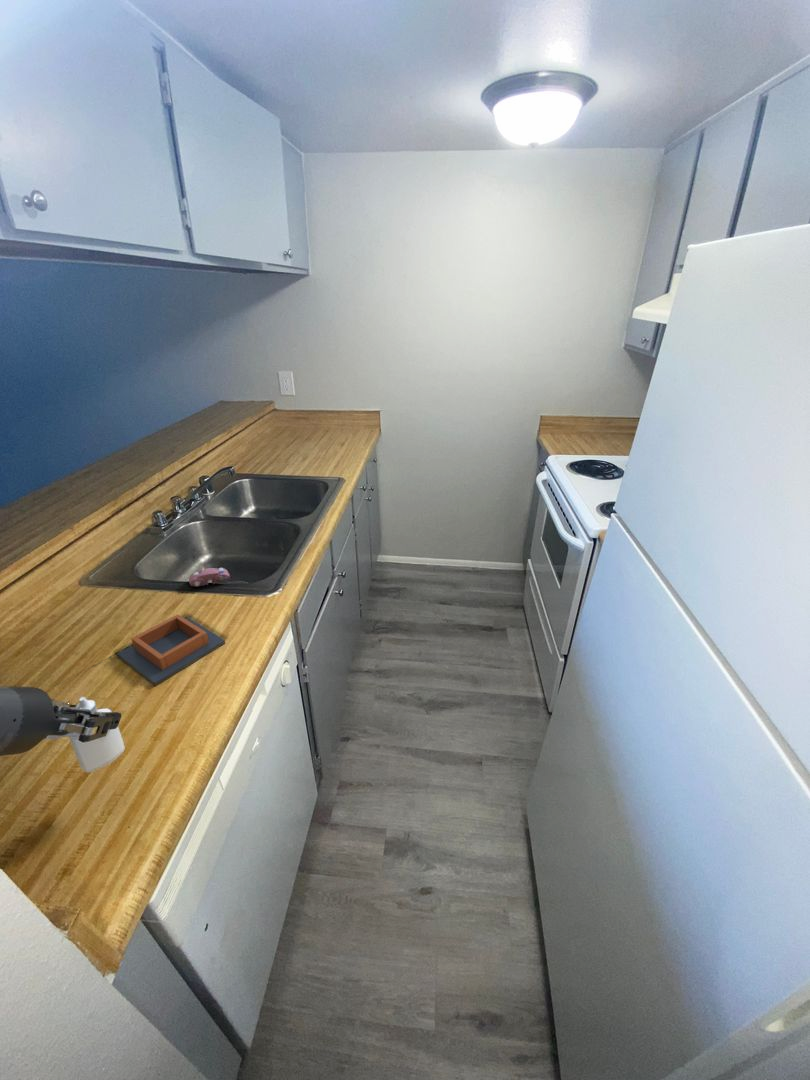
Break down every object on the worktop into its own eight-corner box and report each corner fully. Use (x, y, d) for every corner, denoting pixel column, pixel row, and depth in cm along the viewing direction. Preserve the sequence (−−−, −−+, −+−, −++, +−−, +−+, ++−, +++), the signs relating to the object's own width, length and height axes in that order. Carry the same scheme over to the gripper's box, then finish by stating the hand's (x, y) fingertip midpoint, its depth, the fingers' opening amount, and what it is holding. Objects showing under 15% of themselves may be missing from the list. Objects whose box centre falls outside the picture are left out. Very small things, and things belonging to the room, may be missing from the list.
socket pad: (155, 686, 91) (151, 670, 89) (117, 656, 98) (112, 641, 96) (225, 643, 103) (222, 628, 101) (187, 619, 110) (184, 605, 108)
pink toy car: (191, 596, 121) (187, 581, 116) (189, 581, 123) (185, 566, 118) (231, 588, 125) (230, 574, 119) (229, 574, 127) (227, 559, 122)
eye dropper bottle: (123, 764, 69) (103, 705, 63) (78, 776, 67) (53, 716, 61) (126, 741, 72) (108, 682, 67) (84, 751, 70) (61, 692, 65)
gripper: (56, 700, 52) (155, 701, 68) (-44, 673, 55) (74, 679, 71) (25, 774, 50) (135, 756, 66) (-76, 741, 53) (53, 731, 69)
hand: (103, 716), depth 68 cm, fingers closed on eye dropper bottle, 4 cm apart
